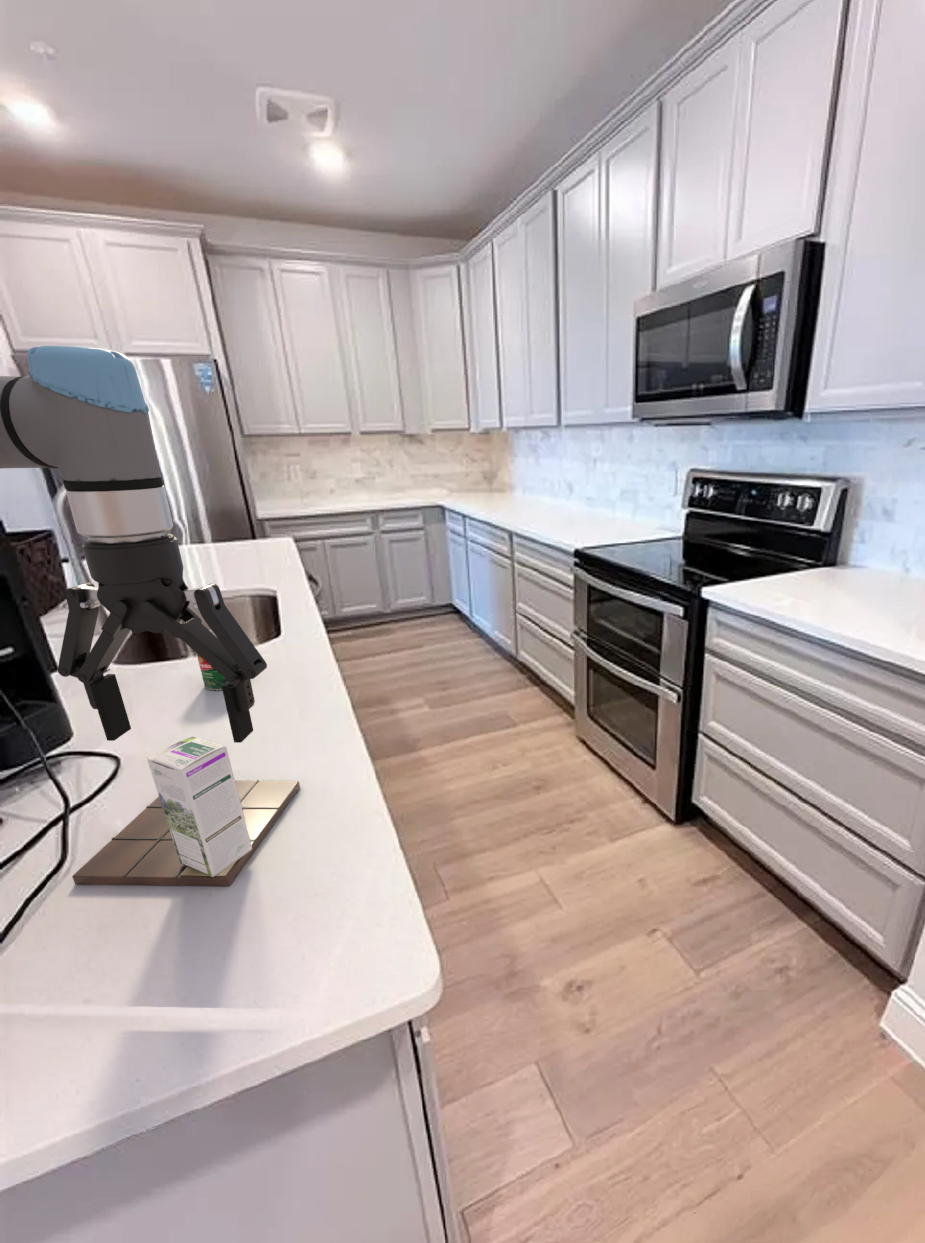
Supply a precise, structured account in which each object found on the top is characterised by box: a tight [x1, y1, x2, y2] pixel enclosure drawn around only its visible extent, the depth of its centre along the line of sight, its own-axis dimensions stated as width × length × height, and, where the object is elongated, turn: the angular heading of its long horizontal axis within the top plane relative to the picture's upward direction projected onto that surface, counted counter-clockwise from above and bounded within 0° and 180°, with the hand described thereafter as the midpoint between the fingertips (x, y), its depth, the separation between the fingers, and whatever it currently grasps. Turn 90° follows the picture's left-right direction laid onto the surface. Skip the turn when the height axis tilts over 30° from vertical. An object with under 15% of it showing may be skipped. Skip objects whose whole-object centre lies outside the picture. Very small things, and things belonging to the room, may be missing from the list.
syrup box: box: [147, 736, 252, 877], centre depth 67 cm, size 6×6×14 cm
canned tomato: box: [196, 627, 227, 691], centre depth 119 cm, size 8×8×11 cm
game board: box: [71, 779, 301, 887], centre depth 76 cm, size 18×20×1 cm
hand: (181, 735), depth 63 cm, fingers open, 13 cm apart
